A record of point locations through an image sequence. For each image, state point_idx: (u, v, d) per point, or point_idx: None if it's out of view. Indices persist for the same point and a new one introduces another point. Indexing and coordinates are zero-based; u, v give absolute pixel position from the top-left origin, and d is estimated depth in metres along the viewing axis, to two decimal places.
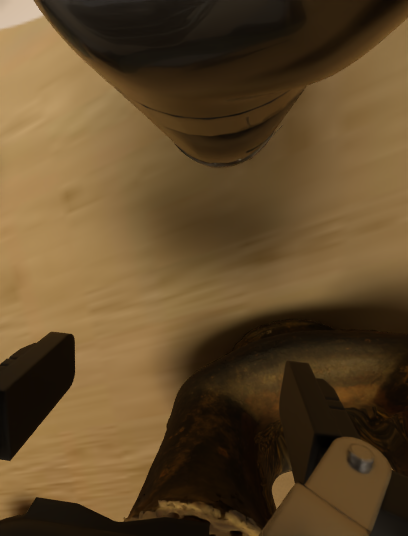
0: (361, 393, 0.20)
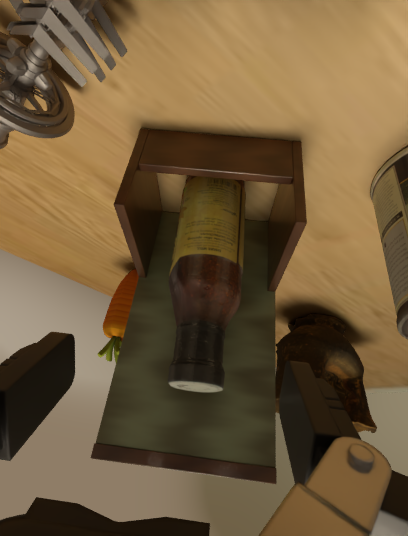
0: (343, 375, 0.56)
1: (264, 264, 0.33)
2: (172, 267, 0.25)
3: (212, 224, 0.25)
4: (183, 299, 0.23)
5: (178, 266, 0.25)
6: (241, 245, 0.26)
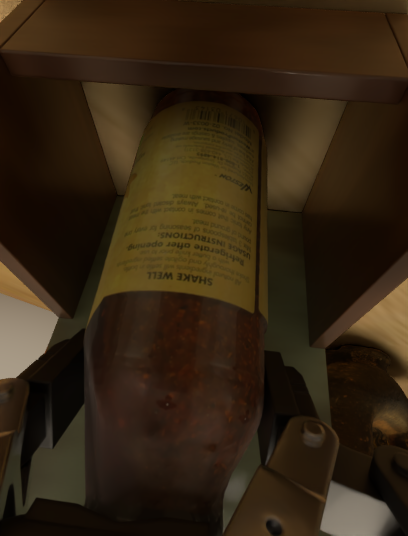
0: (389, 430, 0.40)
1: (300, 292, 0.17)
2: (89, 320, 0.10)
3: (193, 211, 0.10)
4: (99, 429, 0.08)
5: (99, 323, 0.09)
6: (264, 262, 0.11)
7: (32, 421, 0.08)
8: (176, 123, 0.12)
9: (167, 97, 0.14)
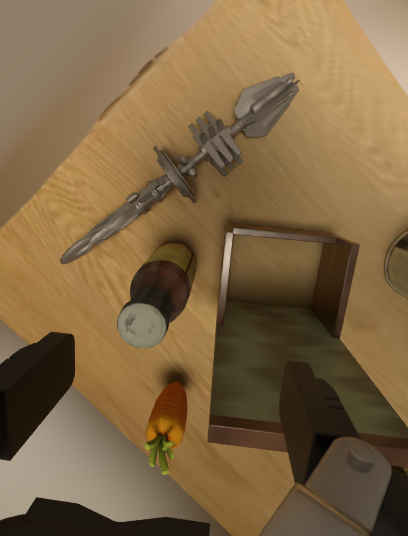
0: None
1: (321, 325, 0.38)
2: (135, 274, 0.33)
3: (169, 253, 0.35)
4: (141, 277, 0.29)
5: (140, 269, 0.32)
6: (190, 271, 0.35)
7: None
8: (165, 246, 0.40)
9: (162, 245, 0.42)
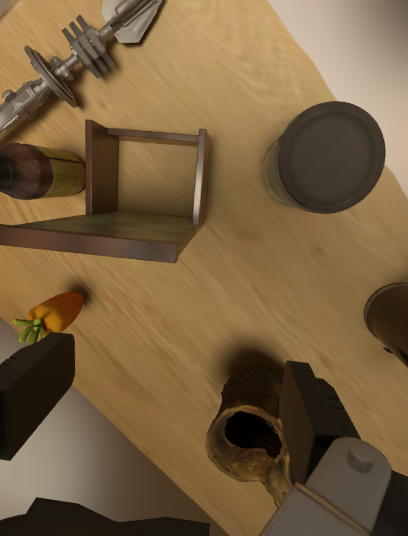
0: None
1: (192, 222, 0.40)
2: None
3: None
4: None
5: None
6: (59, 163, 0.38)
7: None
8: None
9: None
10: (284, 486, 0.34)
